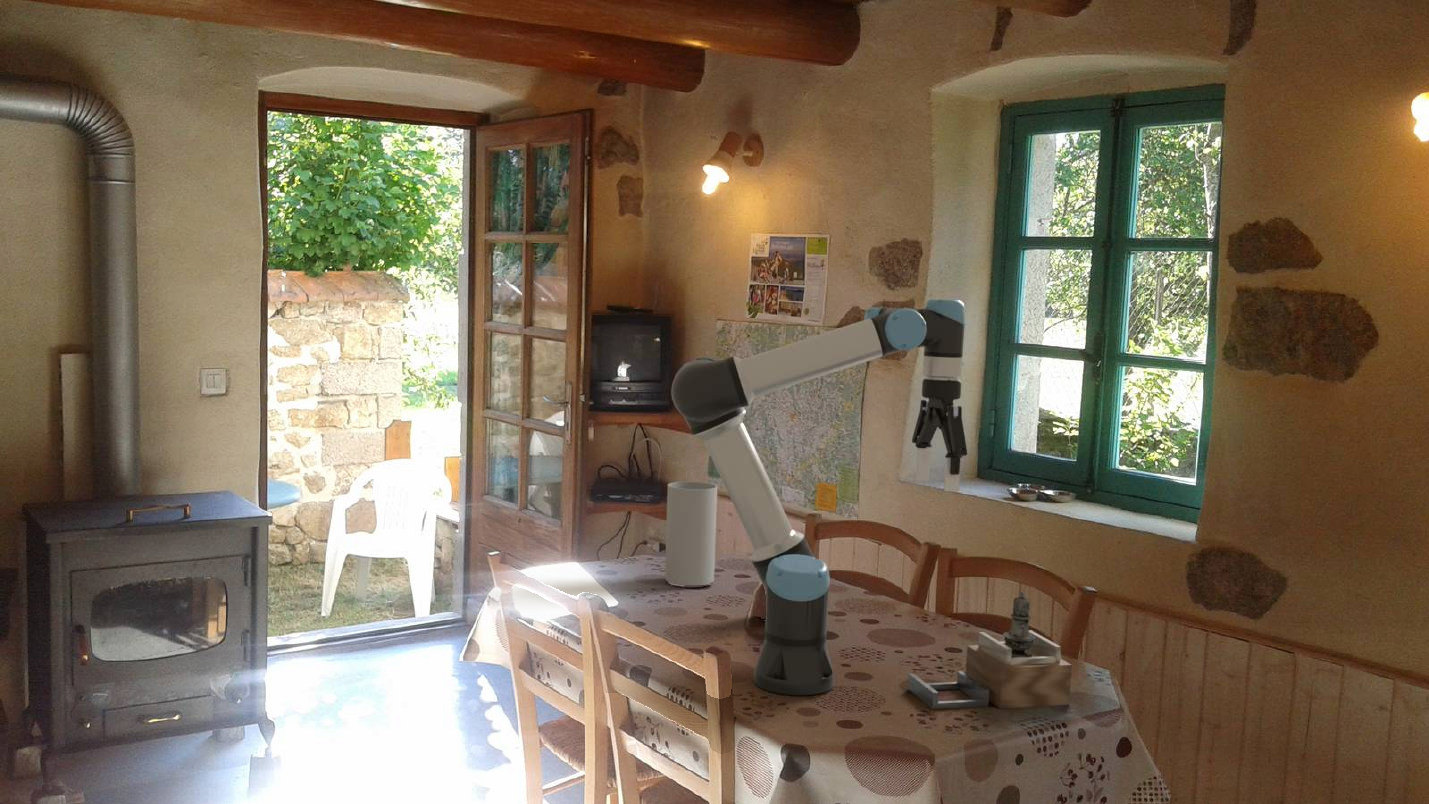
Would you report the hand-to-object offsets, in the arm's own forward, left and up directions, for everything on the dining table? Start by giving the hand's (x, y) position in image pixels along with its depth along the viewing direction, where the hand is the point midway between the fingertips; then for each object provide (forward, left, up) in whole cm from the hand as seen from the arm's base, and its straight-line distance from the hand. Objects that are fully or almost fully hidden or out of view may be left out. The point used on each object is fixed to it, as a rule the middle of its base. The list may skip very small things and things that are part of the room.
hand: (936, 485), depth 236 cm
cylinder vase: (-32, +74, -37) cm, 89 cm away
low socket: (-4, -18, -37) cm, 41 cm away
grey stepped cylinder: (+10, -18, -29) cm, 36 cm away
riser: (+10, -18, -37) cm, 42 cm away
